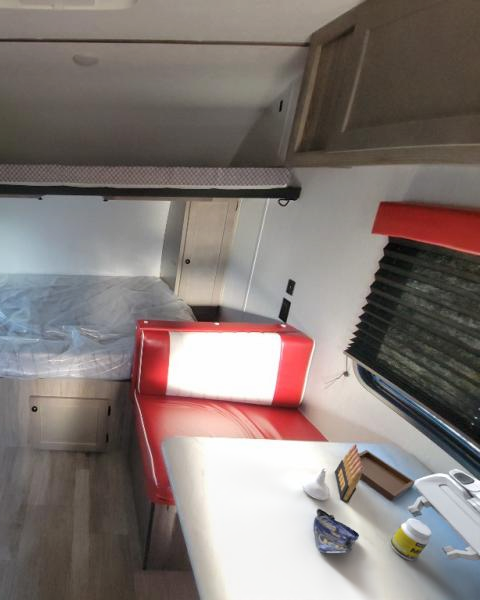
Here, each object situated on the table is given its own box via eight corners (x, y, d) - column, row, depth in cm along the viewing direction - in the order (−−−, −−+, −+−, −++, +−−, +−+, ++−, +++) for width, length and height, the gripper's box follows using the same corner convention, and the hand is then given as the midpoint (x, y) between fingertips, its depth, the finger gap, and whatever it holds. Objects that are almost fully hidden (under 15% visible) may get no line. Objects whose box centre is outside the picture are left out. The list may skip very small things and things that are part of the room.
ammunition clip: (348, 503, 89) (367, 470, 84) (340, 499, 90) (359, 466, 85) (342, 474, 98) (359, 443, 93) (334, 471, 99) (351, 440, 94)
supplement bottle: (406, 563, 76) (425, 539, 73) (384, 542, 80) (400, 518, 77) (420, 558, 77) (439, 534, 74) (398, 537, 81) (414, 514, 78)
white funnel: (307, 500, 88) (318, 478, 85) (296, 480, 94) (306, 459, 91) (331, 505, 88) (344, 483, 85) (319, 484, 94) (330, 463, 91)
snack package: (288, 516, 84) (329, 566, 73) (300, 497, 82) (344, 546, 71) (323, 516, 87) (368, 565, 76) (336, 498, 85) (383, 545, 74)
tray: (411, 487, 96) (415, 482, 96) (391, 501, 91) (394, 496, 90) (363, 454, 106) (366, 449, 106) (342, 465, 101) (345, 460, 100)
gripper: (561, 573, 63) (477, 593, 67) (458, 479, 82) (398, 500, 86) (551, 553, 61) (466, 575, 65) (449, 462, 80) (388, 484, 84)
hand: (427, 531), depth 76 cm, fingers open, 8 cm apart
